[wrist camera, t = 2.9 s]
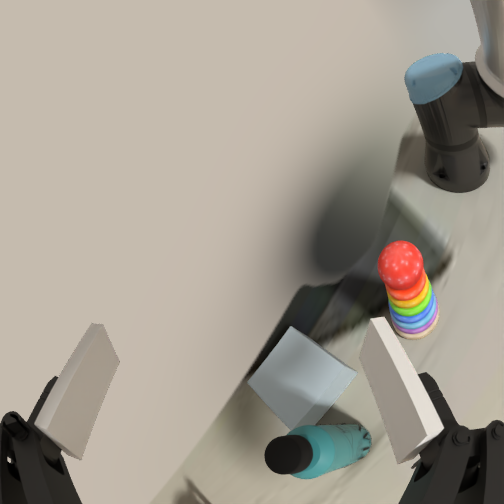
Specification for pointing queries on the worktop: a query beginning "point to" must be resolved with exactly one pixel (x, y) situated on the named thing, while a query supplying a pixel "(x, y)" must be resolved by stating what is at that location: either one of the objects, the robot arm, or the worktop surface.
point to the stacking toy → (408, 290)
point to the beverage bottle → (317, 449)
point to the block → (300, 380)
